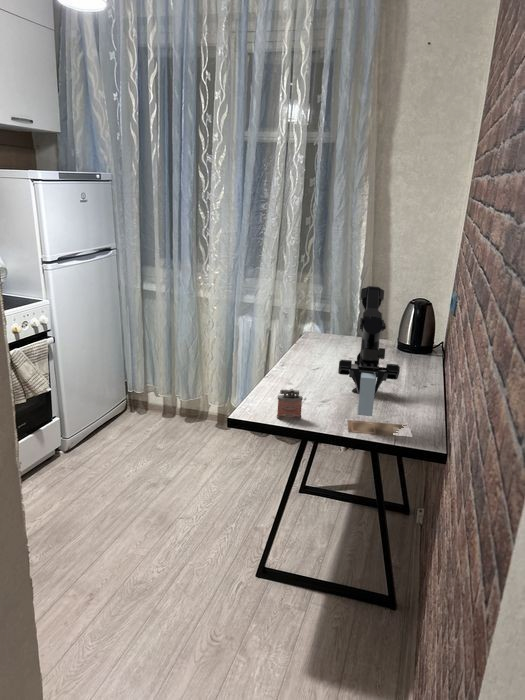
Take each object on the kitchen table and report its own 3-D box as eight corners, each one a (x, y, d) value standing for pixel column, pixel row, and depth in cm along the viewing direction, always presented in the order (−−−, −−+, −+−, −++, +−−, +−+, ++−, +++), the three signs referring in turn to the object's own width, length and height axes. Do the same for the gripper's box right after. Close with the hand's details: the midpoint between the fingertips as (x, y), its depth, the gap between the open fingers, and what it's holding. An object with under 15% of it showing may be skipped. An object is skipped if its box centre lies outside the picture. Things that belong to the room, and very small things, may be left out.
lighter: (300, 416, 178) (302, 388, 175) (301, 420, 175) (303, 391, 172) (276, 415, 178) (277, 387, 175) (276, 420, 175) (278, 391, 172)
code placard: (409, 425, 174) (409, 425, 174) (413, 438, 166) (413, 437, 166) (347, 420, 176) (347, 420, 176) (348, 432, 168) (348, 432, 168)
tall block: (357, 409, 173) (361, 372, 169) (371, 410, 172) (375, 373, 168) (357, 414, 168) (361, 377, 165) (372, 416, 168) (376, 378, 164)
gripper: (341, 335, 168) (337, 380, 161) (402, 340, 165) (401, 386, 158) (340, 351, 178) (336, 395, 171) (398, 356, 175) (396, 401, 168)
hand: (366, 394), depth 167 cm, fingers closed on tall block, 4 cm apart
